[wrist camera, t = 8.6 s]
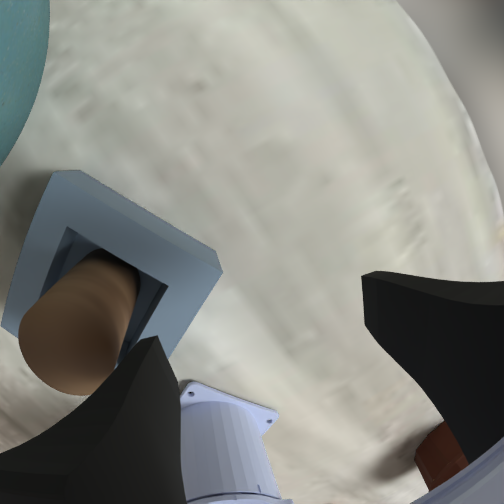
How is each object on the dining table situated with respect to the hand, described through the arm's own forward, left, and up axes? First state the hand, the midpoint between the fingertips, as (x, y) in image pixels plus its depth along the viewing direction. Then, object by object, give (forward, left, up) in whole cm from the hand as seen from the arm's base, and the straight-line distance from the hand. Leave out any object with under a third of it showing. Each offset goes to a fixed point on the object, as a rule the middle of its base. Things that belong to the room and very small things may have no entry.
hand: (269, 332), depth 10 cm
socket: (-5, +6, -9) cm, 12 cm away
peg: (-5, +6, -8) cm, 11 cm away
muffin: (-8, -38, -10) cm, 40 cm away
